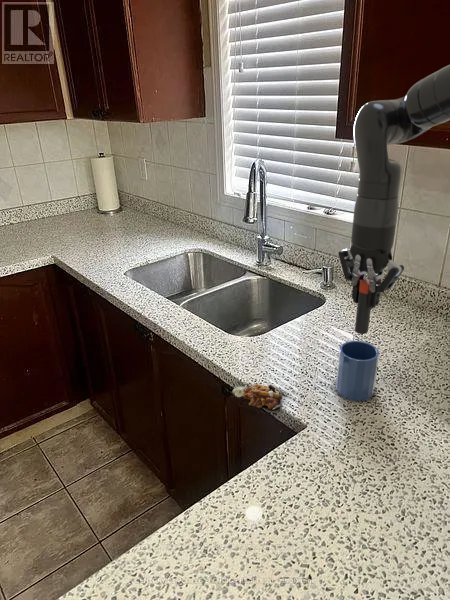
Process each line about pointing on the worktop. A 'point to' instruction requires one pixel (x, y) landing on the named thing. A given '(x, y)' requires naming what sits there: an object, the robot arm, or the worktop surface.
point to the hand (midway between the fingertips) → (364, 304)
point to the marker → (362, 308)
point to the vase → (357, 370)
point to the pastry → (260, 395)
